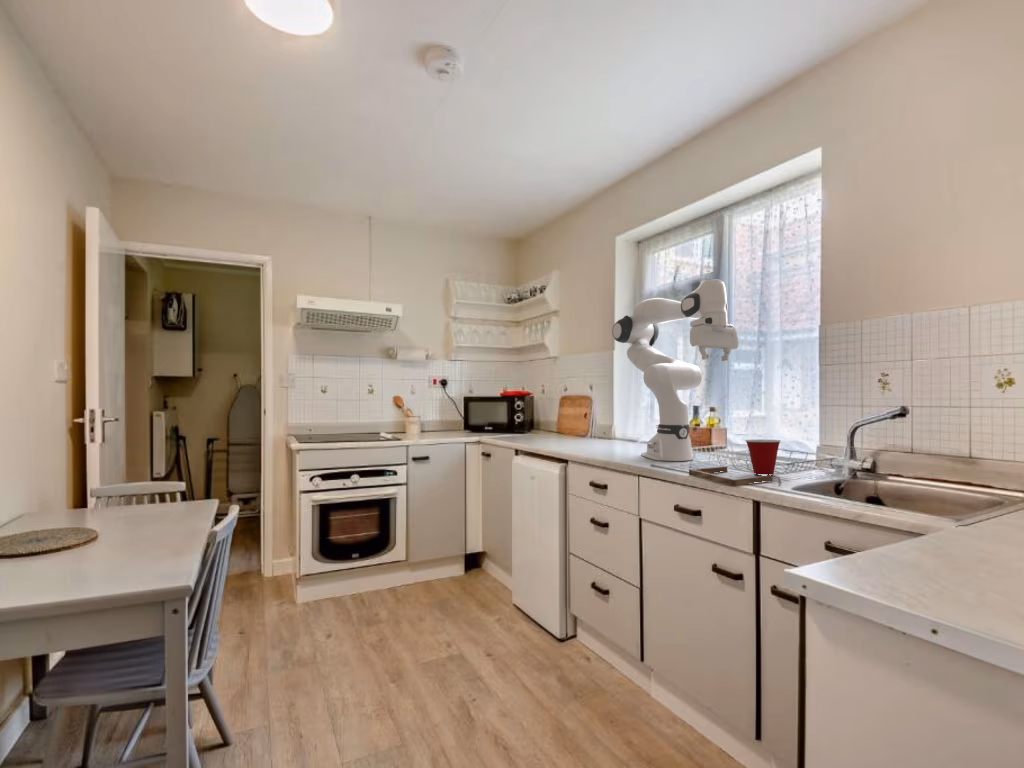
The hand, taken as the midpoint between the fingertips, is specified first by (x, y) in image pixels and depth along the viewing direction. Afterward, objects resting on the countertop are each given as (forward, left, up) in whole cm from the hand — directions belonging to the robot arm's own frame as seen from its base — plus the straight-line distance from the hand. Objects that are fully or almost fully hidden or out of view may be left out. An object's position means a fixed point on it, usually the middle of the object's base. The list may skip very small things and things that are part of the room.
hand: (715, 360), depth 181 cm
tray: (+16, -9, -39) cm, 43 cm away
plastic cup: (+16, +5, -39) cm, 43 cm away
